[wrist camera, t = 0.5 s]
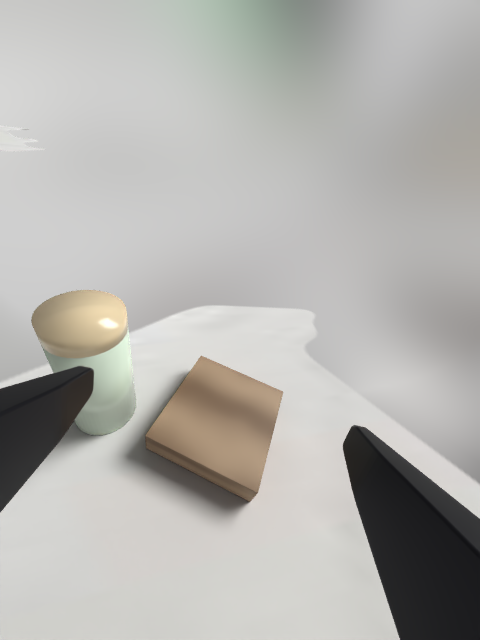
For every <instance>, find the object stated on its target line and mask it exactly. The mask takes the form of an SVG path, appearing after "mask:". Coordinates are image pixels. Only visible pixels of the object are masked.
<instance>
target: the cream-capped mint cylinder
mask: <svg viewBox="0 0 480 640" xmlns="http://www.w3.org/2000/svg"><path fill="white" fill-rule="evenodd" d="M31 321H32V325H33V328H34V330H35V332H36V334H37V337H38V339H39V341H40V343H41V346H42V348H43V350H44V352H45V355H46V357H47V359H48V361H49V364H50V366H51V368H52V370H53V373H56V372H60V371H63V370H66V369H70V368H73V367H77V366H85V367H90V368H92V369H93V370H94V386H93V392H92V395H91V397H90V398H89V400H88V401H87V403H86V404H85V405H84V407H83V408H82V410H81V411H80V413H79V414H78V416H77V417H76V419H75V422H76V424H77V426H78V428H79V429H80V430H81V431H83V432H84V433H87V434H90V435H106V434H109V433H112V432H114V431H117V430H118V429H120V428H121V427H123V426H124V425H125V424H126V423H127V422H128V421H129V420H130V419H131V417H132V416H133V414H134V412H135V409H136V397H135V387H134V378H133V368H132V359H131V350H130V340H129V331H128V322H127V313H126V307H125V304H124V303H123V302H122V300H120V299H119V298H118V297H116V296H114V295H112V294H110V293H106V292H102V291H96V290H80V291H71V292H67V293H63V294H60V295H57V296H54V297H52V298H50V299H48V300H46V301H45V302H43V303H42V304H41V305H40V306H39V307H37V309H36V310H35V311H34V313H33V315H32V320H31Z"/></svg>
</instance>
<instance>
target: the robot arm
mask: <svg viewBox="0 0 480 640" xmlns="http://www.w3.org/2000/svg"><path fill="white" fill-rule="evenodd" d="M93 386H94V370H93V369H92V368H90V367H85V366H77V367H73V368H70V369H66V370H63V371H60V372H56V373H53V374H49V375H46V376H43V377H39V378H36V379H32V380H29V381H25V382H22V383H19V384H15V385H12V386H8V387H5V388H1V389H0V512H1V511H2V510H3V509H4V507H5V506H6V505H7V504H8V503H9V501H10V500H11V499H12V498H13V497H14V495H15V494H16V493H17V492H18V491H19V489H20V488H21V487H22V486H23V485H24V483H25V482H26V481H27V480H28V479H29V477H30V476H31V475H32V474H33V473H34V471H35V470H36V469H37V468H38V467H39V465H40V464H41V463H42V462H43V461H44V459H45V458H46V457H47V456H48V455H49V453H50V452H51V451H52V450H53V449H54V447H55V446H56V445H57V444H58V442H59V441H60V440H61V439H62V437H63V436H64V435H65V433H66V432H67V430H68V429H69V427H70V426H71V424H72V423H73V422H74V420H75V419H76V417H77V416H78V414H79V413H80V411H81V410H82V408H83V407H84V405H85V404H86V403H87V401H88V400H89V398H90V397H91V395H92V392H93ZM343 451H344V456H345V460H346V464H347V469H348V473H349V478H350V482H351V486H352V491H353V494H354V498H355V501H356V505H357V508H358V511H359V514H360V517H361V520H362V523H363V527H364V530H365V533H366V536H367V539H368V542H369V545H370V548H371V551H372V554H373V557H374V561H375V564H376V567H377V570H378V573H379V576H380V579H381V582H382V585H383V588H384V591H385V595H386V598H387V601H388V604H389V607H390V610H391V613H392V616H393V619H394V622H395V625H396V629H397V632H398V635H399V638H400V640H480V519H479V518H478V517H477V516H475V515H474V514H473V513H472V512H470V511H469V510H468V509H467V508H465V507H464V506H463V505H462V504H460V503H459V502H458V501H457V500H455V499H454V498H453V497H452V496H450V495H449V494H448V493H447V492H445V491H444V490H443V489H442V488H440V487H439V486H438V485H437V484H435V483H434V482H433V481H432V480H430V479H429V478H428V477H427V476H425V475H424V474H423V473H422V472H420V471H419V470H418V469H417V468H415V467H414V466H413V465H412V464H411V463H409V462H408V461H407V460H406V459H404V458H403V457H402V456H401V455H399V454H398V453H397V452H396V451H394V450H393V449H392V448H391V447H389V446H388V445H387V444H386V443H384V442H383V441H382V440H381V439H379V438H378V437H377V436H376V435H374V434H373V433H372V432H371V431H369V430H368V429H367V428H365V427H361V426H357V425H354V426H352V427H351V429H350V431H349V433H348V435H347V437H346V439H345V441H344V443H343Z"/></svg>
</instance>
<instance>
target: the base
mask: <svg viewBox="0 0 480 640" xmlns="http://www.w3.org/2000/svg"><path fill="white" fill-rule="evenodd" d="M282 395H283V392H282V391H280V390H278V389H276V388H273V387H271V386H269V385H267V384H264V383H262V382H260V381H257V380H255V379H253V378H251V377H248V376H246V375H244V374H242V373H239V372H237V371H235V370H232V369H230V368H228V367H226V366H223V365H221V364H219V363H217V362H214V361H212V360H210V359H207V358H205V357H203V356H201V357H200V358H199V359H198V361H197V362H196V364H195V365H194V367H193V368H192V369H191V371H190V372H189V374H188V375H187V377H186V378H185V379H184V381H183V382H182V384H181V385H180V387H179V388H178V389H177V391H176V392H175V394H174V395H173V397H172V398H171V399H170V401H169V402H168V404H167V405H166V407H165V408H164V409H163V411H162V412H161V414H160V415H159V417H158V418H157V419H156V421H155V422H154V424H153V425H152V427H151V428H150V429H149V431H148V432H147V434H146V435H145V440H146V448H147V449H148V450H150V451H152V452H154V453H156V454H158V455H160V456H162V457H164V458H166V459H168V460H170V461H172V462H174V463H176V464H178V465H179V466H181V467H183V468H185V469H187V470H189V471H191V472H193V473H195V474H197V475H199V476H201V477H203V478H205V479H207V480H208V481H210V482H212V483H214V484H216V485H218V486H220V487H222V488H224V489H226V490H228V491H230V492H232V493H234V494H236V495H237V496H239V497H241V498H243V499H245V500H247V501H249V502H250V501H251V500H252V499H253V498H254V497H255V496H256V494H257V493H258V490H259V486H260V482H261V478H262V474H263V470H264V466H265V462H266V458H267V454H268V450H269V446H270V443H271V439H272V435H273V431H274V427H275V423H276V419H277V415H278V411H279V407H280V403H281V399H282Z"/></svg>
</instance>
